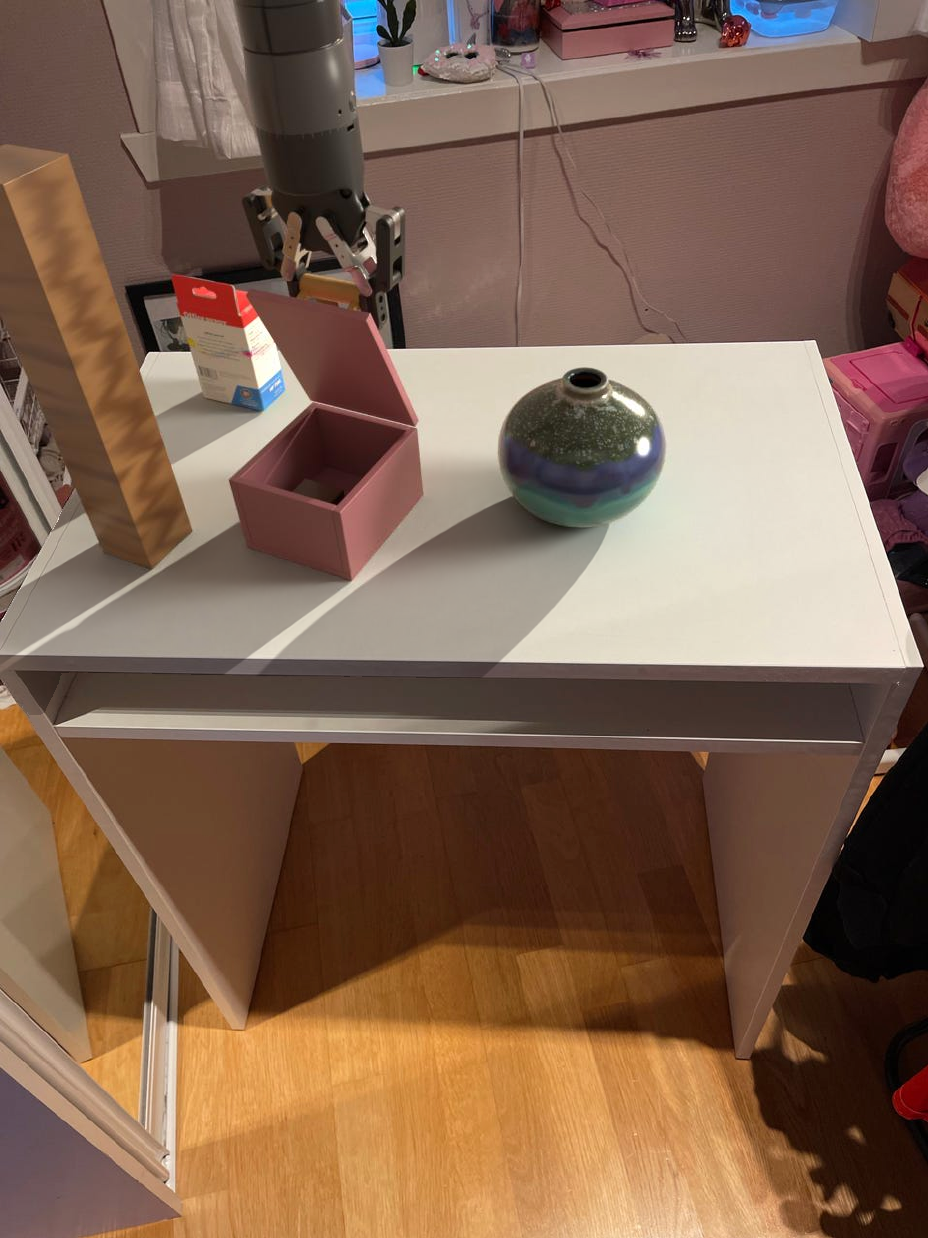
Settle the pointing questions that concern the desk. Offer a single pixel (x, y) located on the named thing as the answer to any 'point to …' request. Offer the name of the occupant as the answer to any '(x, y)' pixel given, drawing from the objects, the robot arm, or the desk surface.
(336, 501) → the block
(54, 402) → the pedestal
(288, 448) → the chest
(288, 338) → the lid
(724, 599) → the desk surface
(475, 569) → the desk surface
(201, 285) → the ink box
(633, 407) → the vase
